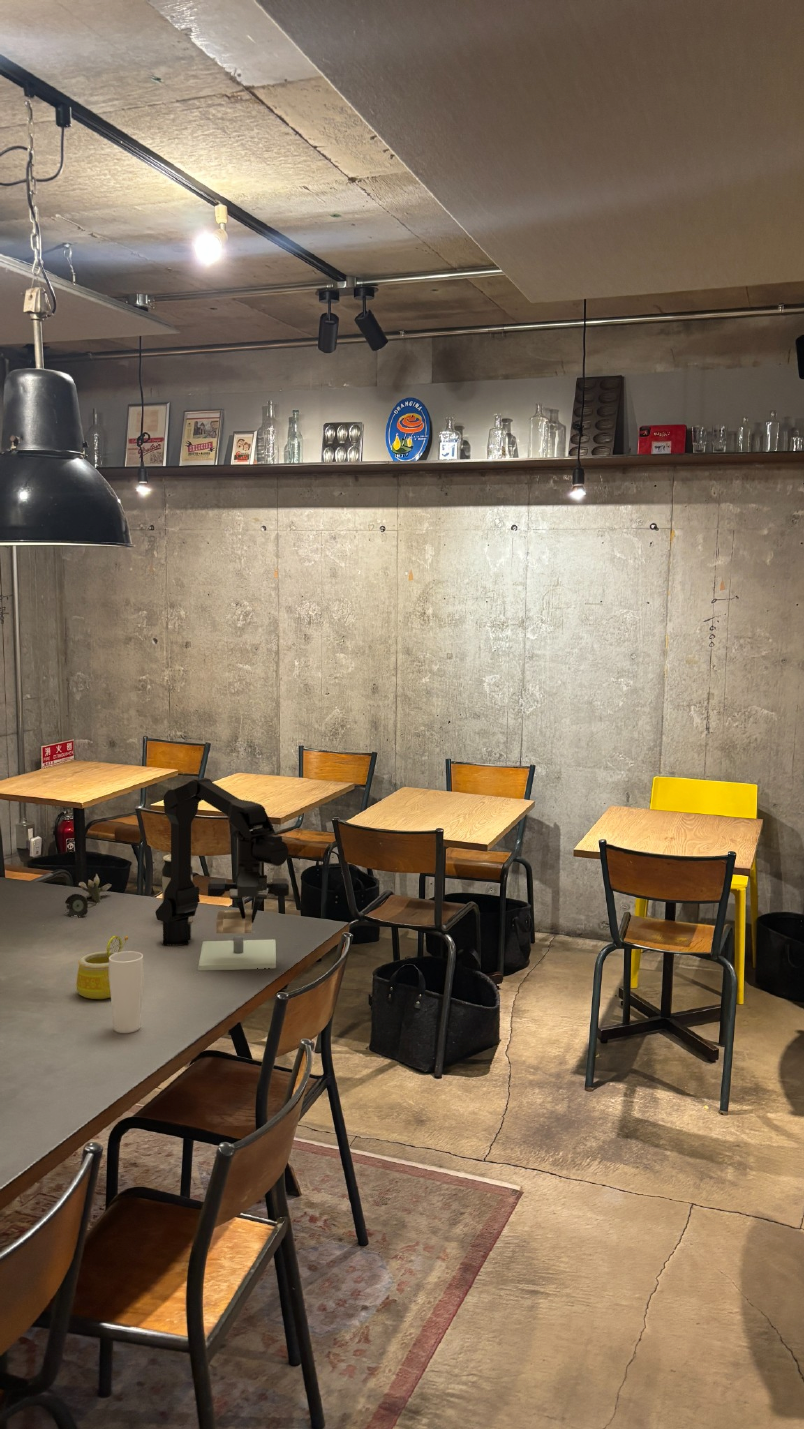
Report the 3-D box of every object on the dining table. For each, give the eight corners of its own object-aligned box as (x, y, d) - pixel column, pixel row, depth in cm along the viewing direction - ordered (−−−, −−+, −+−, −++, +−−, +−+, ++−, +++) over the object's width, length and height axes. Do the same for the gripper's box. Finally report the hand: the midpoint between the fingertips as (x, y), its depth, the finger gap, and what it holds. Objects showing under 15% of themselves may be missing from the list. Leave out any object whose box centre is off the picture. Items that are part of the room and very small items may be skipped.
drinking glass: (139, 1036, 203) (138, 962, 202) (105, 1035, 204) (103, 961, 202) (148, 1022, 210) (147, 951, 209) (115, 1022, 210) (114, 950, 209)
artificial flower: (59, 922, 282) (50, 886, 282) (94, 909, 304) (86, 876, 304) (89, 915, 280) (80, 879, 281) (122, 902, 303) (114, 869, 303)
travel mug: (197, 919, 281) (197, 854, 280) (185, 927, 274) (184, 861, 272) (170, 916, 283) (170, 852, 281) (157, 925, 275) (156, 859, 274)
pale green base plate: (198, 970, 241) (198, 949, 240) (203, 946, 259) (203, 926, 258) (276, 968, 243) (276, 947, 243) (275, 944, 261) (275, 924, 261)
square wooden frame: (216, 933, 239) (216, 920, 238) (218, 922, 247) (218, 910, 246) (251, 933, 240) (251, 920, 239) (252, 922, 248) (252, 910, 247)
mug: (84, 1006, 219) (83, 951, 217) (71, 989, 228) (70, 937, 227) (143, 995, 225) (142, 941, 224) (128, 979, 235) (127, 928, 233)
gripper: (206, 866, 233) (205, 934, 234) (289, 866, 235) (288, 933, 237) (209, 854, 244) (209, 919, 245) (289, 854, 246) (288, 918, 248)
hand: (248, 922), depth 243 cm, fingers closed on square wooden frame
